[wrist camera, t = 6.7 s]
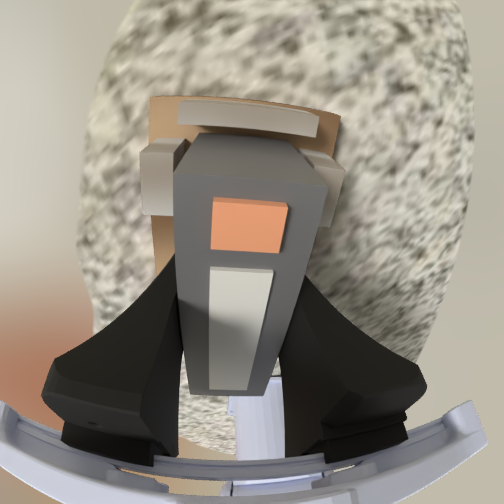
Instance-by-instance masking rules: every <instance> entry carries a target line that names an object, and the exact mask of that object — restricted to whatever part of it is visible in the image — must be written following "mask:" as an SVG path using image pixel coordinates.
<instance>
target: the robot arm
mask: <svg viewBox="0 0 504 504" xmlns="http://www.w3.org/2000/svg"><path fill="white" fill-rule="evenodd" d="M183 350H184V349H183V341H182V333H181V324H180V314H179V304H178V293H177V280H176V265H175V253H174V254H173V256H172V257H171V259H170V260H169V262H168V263H167V264H166V266H165V267H164V268H163V270H162V271H161V272H160V273H159V275H158V276H157V277H156V278H155V279H154V281H153V282H152V283H151V284H150V285H149V287H148V288H147V289H146V290H145V291H144V292H143V293H142V294H141V295H140V296H139V298H138V299H137V300H136V301H135V302H134V303H133V304H132V305H131V306H130V307H129V308H127V309H126V310H125V311H124V312H123V313H122V314H121V315H120V316H119V317H117V318H116V319H115V320H114V321H113V322H111V323H110V324H109V325H108V326H107V327H105V328H104V329H103V330H101V331H100V332H98V333H97V334H96V335H94V336H93V337H91V338H90V339H89V340H87V341H85V342H84V343H82V344H81V345H79V346H77V347H75V348H74V349H72V350H70V351H68V352H67V353H65V354H63V355H61V356H59V357H57V358H55V359H54V361H53V363H52V365H51V368H50V370H49V373H48V376H47V379H46V382H45V385H44V388H43V391H42V394H41V396H42V398H43V401H44V402H45V404H47V406H48V407H49V408H50V409H51V410H53V411H54V412H55V413H56V414H57V415H58V416H59V417H60V418H62V419H63V420H64V421H65V422H64V426H63V431H62V432H61V431H58V430H55V429H52V428H50V427H47V426H45V425H42V424H40V423H38V422H35V421H33V420H31V419H29V418H26V417H24V416H22V415H20V414H18V412H17V411H16V410H15V409H13V408H12V407H11V406H10V405H8V404H7V403H5V402H3V401H1V400H0V466H1V467H2V468H4V469H5V470H6V471H8V472H9V473H11V474H13V475H14V476H15V477H17V478H19V479H20V480H22V481H23V482H25V483H27V484H28V485H30V486H32V487H33V488H35V489H37V490H39V491H40V492H42V493H44V494H46V495H48V496H50V497H51V498H54V499H56V500H57V501H59V502H61V503H64V504H396V503H398V502H399V501H402V500H403V499H405V498H407V497H409V496H411V495H413V494H415V493H417V492H418V491H420V490H422V489H423V488H425V487H427V486H429V485H430V484H432V483H434V482H435V481H437V480H438V479H440V478H441V477H443V476H444V475H446V474H447V473H449V472H450V471H452V470H453V469H454V468H456V467H457V466H459V465H460V464H461V463H463V462H464V461H466V460H467V459H468V458H470V457H471V456H473V455H474V454H475V453H477V452H478V451H479V450H481V449H482V448H484V447H485V446H486V445H487V444H488V442H487V439H486V436H485V433H484V430H483V428H482V425H481V422H480V420H479V417H478V415H477V412H476V410H475V407H474V405H473V403H472V400H469V401H467V402H464V403H462V404H461V405H458V406H456V407H454V408H453V409H451V410H450V411H448V412H447V413H446V414H444V415H443V416H442V417H441V418H439V419H437V420H434V421H432V422H430V423H427V424H424V425H422V426H419V427H417V428H414V429H411V430H408V431H406V429H405V426H404V423H403V422H404V421H405V420H407V416H406V413H405V410H407V409H408V408H409V407H410V406H411V405H413V404H414V403H415V402H416V401H418V400H419V399H420V398H421V397H422V396H423V395H424V393H425V392H426V389H427V384H426V382H425V379H424V377H423V375H422V373H421V370H420V368H419V366H418V365H417V364H415V363H413V362H411V361H409V360H407V359H405V358H403V357H401V356H399V355H397V354H396V353H394V352H392V351H391V350H389V349H387V348H386V347H384V346H382V345H381V344H379V343H378V342H376V341H375V340H373V339H372V338H370V337H369V336H368V335H366V334H365V333H364V332H362V331H361V330H360V329H358V328H357V327H356V326H355V325H353V324H352V323H351V322H350V321H349V320H348V319H346V318H345V317H344V316H343V315H342V314H341V313H340V312H339V311H338V310H337V309H335V308H334V307H333V306H332V304H331V303H330V302H329V301H328V300H327V299H326V298H325V297H324V296H323V295H322V294H321V293H320V292H319V291H318V290H317V288H316V287H315V286H314V285H313V284H312V283H311V281H310V280H309V279H308V278H307V277H306V275H304V279H303V282H302V285H301V289H300V292H299V295H298V298H297V301H296V305H295V308H294V311H293V314H292V317H291V320H290V323H289V326H288V329H287V332H286V335H285V338H284V341H283V344H282V347H281V350H280V352H279V355H278V357H279V363H280V369H281V377H270V380H269V383H268V386H267V388H266V391H265V393H264V396H229V404H228V411H227V414H228V415H229V416H234V417H235V438H236V457H237V461H223V460H198V459H185V458H175V457H177V456H178V454H179V452H178V411H179V386H180V371H181V361H182V355H183ZM352 465H355V466H354V467H352V468H349V469H345V470H342V471H338V472H335V473H334V472H333V471H331V470H335V469H340V468H344V467H348V466H352ZM119 468H120V469H126V470H130V471H135V472H140V473H145V474H151V475H158V476H165V477H173V478H182V479H194V480H213V481H216V480H217V481H226V483H225V484H224V485H223V486H222V488H221V491H220V496H196V495H182V494H171V493H169V486H168V485H166V484H163V483H159V482H157V481H156V480H155V479H154V478H149V477H144V476H140V475H136V474H132V473H129V472H125V471H121V470H120V469H119Z"/></svg>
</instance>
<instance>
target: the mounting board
mask: <svg viewBox="0 0 504 504" xmlns="http://www.w3.org/2000/svg"><path fill="white" fill-rule="evenodd" d="M340 118H341V116H339V115H337V114H334V113H330V112H325V111H321V110H316V109H311V108H305V107H300V106H294V105H288V104H282V103H275V102H267V101H259V100H250V99H240V98H228V97H211V96H154V97H150V110H149V145H148V146H147V147H146V148H144V149H143V150H142V151H141V152H140V181H141V199H142V213H143V215H151V222H152V235H153V246H154V256H155V265H156V273H157V276H158V275H159V273H160V272H161V271H162V270H163V268H164V267H165V266H166V264H167V263H168V262H169V260H170V259H171V257H172V256H173V254H174V253H175V247H174V222H173V173H174V171H175V169H176V168H177V166H178V165H179V163H180V161H181V160H182V158H183V157H184V155H185V153H186V152H187V150H188V149H189V147H190V146H191V144H192V143H193V141H194V140H195V138H196V137H197V135H198V134H199V133H218V134H233V135H244V136H255V137H264V138H273V139H280V140H288V141H289V142H290V144H291V145H292V146H293V147H294V148H295V149H296V150H297V151H298V152H299V153H300V155H301V156H302V157H303V158H304V159H305V160H306V161H307V162H308V164H309V165H310V166H311V167H312V168H313V169H314V171H315V172H316V173H317V174H318V175H319V176H320V178H321V179H322V180H323V181H324V182H325V184H326V185H327V186H328V191H327V195H326V199H325V203H324V207H323V211H322V215H321V219H320V222H319V226H320V227H330V226H331V223H332V219H333V216H334V212H335V209H336V205H337V201H338V198H339V194H340V190H341V186H342V183H343V179H344V175H345V171H346V170H345V169H343V168H342V167H341V166H340V165H339V164H338V163H337V162H335V161H334V160H333V159H332V156H333V152H334V147H335V142H336V138H337V133H338V128H339V123H340Z"/></svg>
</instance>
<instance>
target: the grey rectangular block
mask: <svg viewBox="0 0 504 504" xmlns="http://www.w3.org/2000/svg"><path fill="white" fill-rule="evenodd" d="M327 191H328V186H327V185H326V184H325V182H324V181H323V180H322V179H321V178H320V176H319V175H318V174H317V173H316V172H315V171H314V169H313V168H312V167H311V166H310V165H309V164H308V162H307V161H306V160H305V159H304V158H303V157H302V156H301V155H300V153H299V152H298V151H297V150H296V149H295V148H294V147H293V146H292V145H291V144H290V142H289V141H288V140H280V139H273V138H264V137H255V136H244V135H233V134H218V133H199V134H198V135H197V137H196V138H195V140H194V141H193V143H192V144H191V146H190V147H189V149H188V150H187V152H186V153H185V155H184V157H183V158H182V160H181V161H180V163H179V165H178V166H177V168H176V169H175V171H174V173H173V222H174V247H175V265H176V280H177V293H178V304H179V314H180V324H181V333H182V341H183V349H184V357H185V364H186V371H187V378H188V384H189V391H190V394H192V395H208V396H264V393H265V391H266V388H267V386H268V383H269V380H270V377H271V375H272V372H273V369H274V366H275V364H276V361H277V358H278V355H279V352H280V350H281V347H282V344H283V341H284V338H285V335H286V332H287V329H288V326H289V323H290V320H291V317H292V314H293V311H294V308H295V305H296V301H297V298H298V295H299V292H300V289H301V285H302V282H303V279H304V275H305V272H306V269H307V265H308V262H309V258H310V255H311V251H312V248H313V244H314V241H315V237H316V233H317V230H318V226H319V222H320V219H321V215H322V211H323V207H324V203H325V199H326V195H327Z"/></svg>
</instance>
